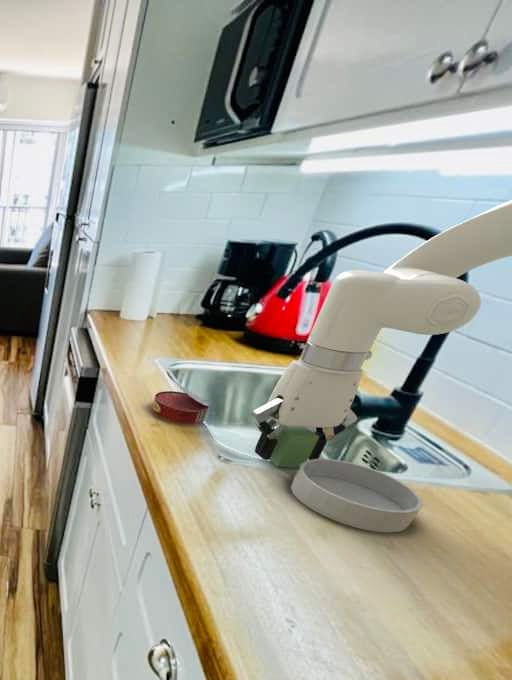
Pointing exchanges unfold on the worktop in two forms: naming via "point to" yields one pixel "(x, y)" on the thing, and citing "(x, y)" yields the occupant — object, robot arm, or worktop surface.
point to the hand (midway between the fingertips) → (285, 456)
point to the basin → (356, 495)
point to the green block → (293, 447)
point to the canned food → (180, 406)
